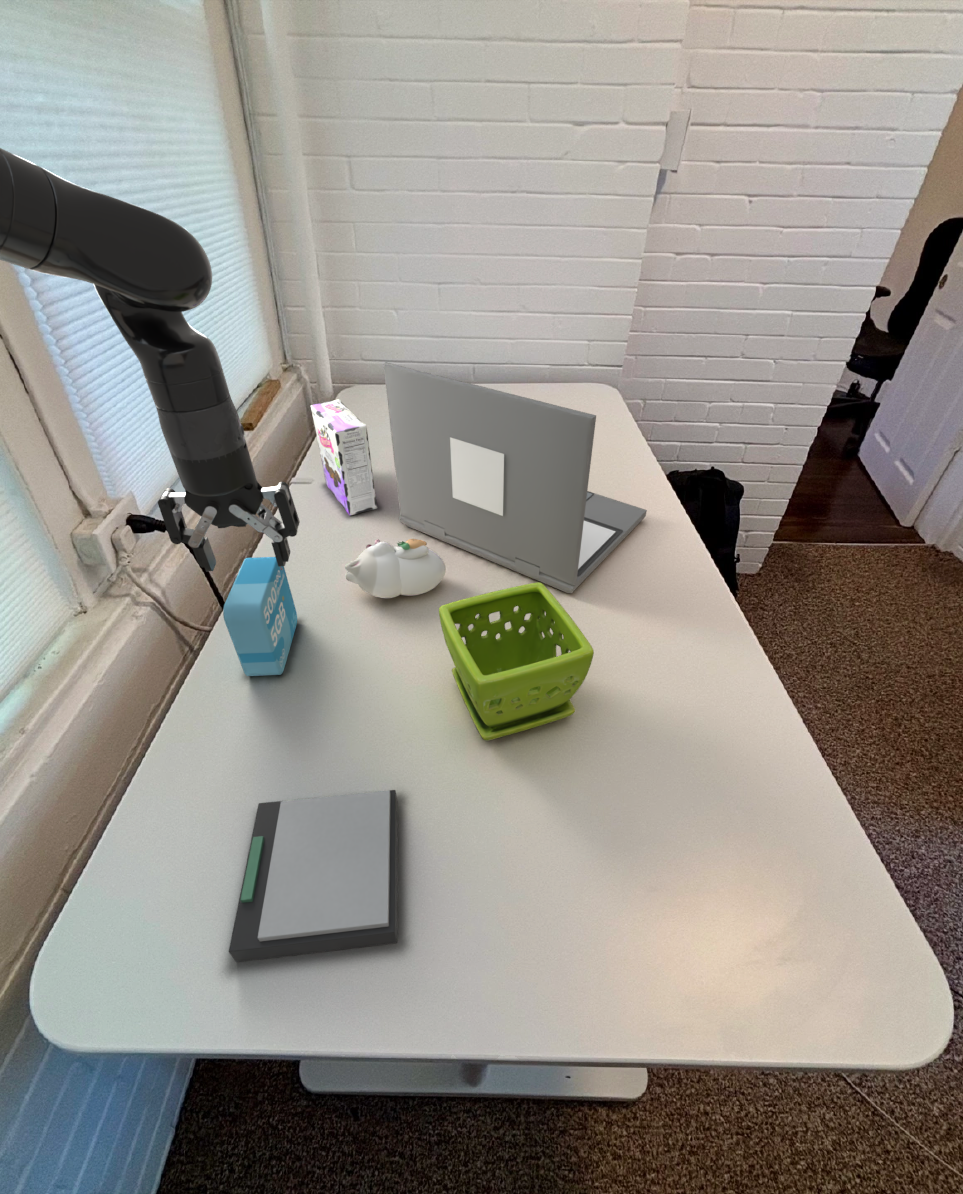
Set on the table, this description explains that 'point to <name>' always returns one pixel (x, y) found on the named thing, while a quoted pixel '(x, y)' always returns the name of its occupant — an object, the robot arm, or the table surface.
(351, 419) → the candy box
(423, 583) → the cat figurine
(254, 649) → the blue rounded block
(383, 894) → the scale
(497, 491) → the laptop
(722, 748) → the table surface
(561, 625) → the flower pot
